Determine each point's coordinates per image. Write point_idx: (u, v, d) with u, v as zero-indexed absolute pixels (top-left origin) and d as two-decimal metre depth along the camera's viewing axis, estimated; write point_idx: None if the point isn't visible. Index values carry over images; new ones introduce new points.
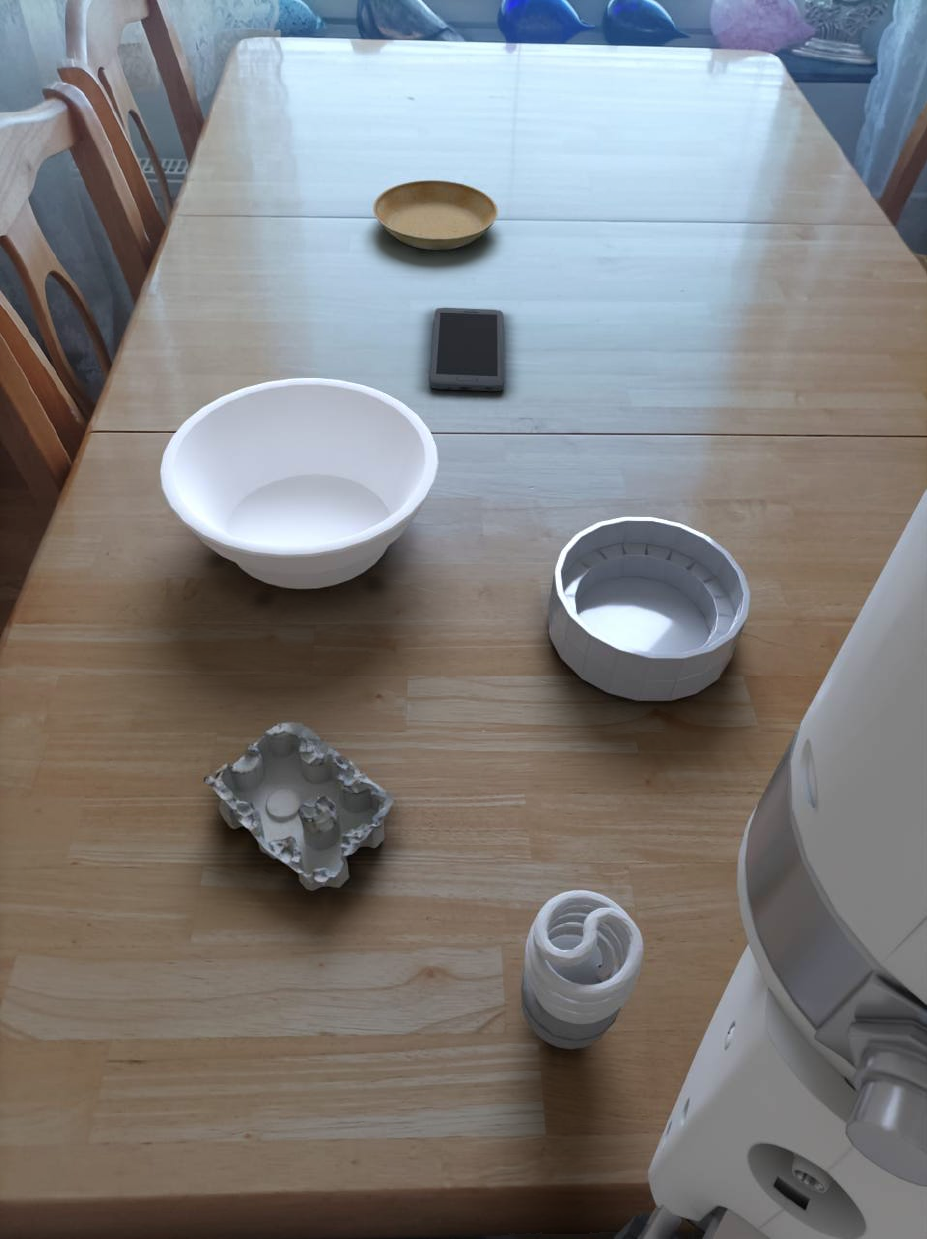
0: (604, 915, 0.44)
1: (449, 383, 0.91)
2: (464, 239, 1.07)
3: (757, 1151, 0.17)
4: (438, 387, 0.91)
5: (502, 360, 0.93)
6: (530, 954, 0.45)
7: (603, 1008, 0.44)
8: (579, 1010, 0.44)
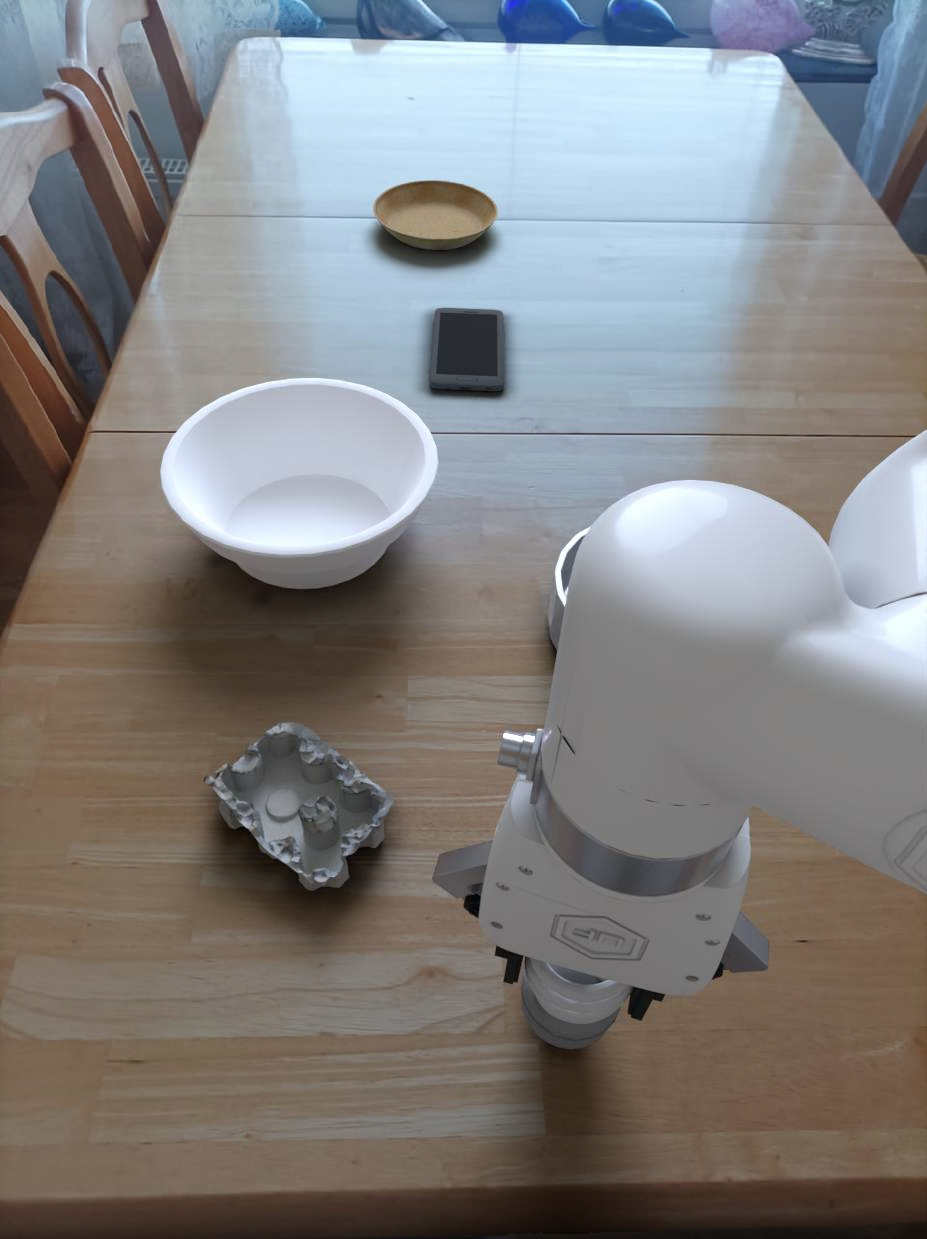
0: None
1: (449, 383, 0.91)
2: (464, 239, 1.07)
3: None
4: (438, 387, 0.91)
5: (502, 360, 0.93)
6: None
7: (602, 1008, 0.44)
8: (578, 1010, 0.44)
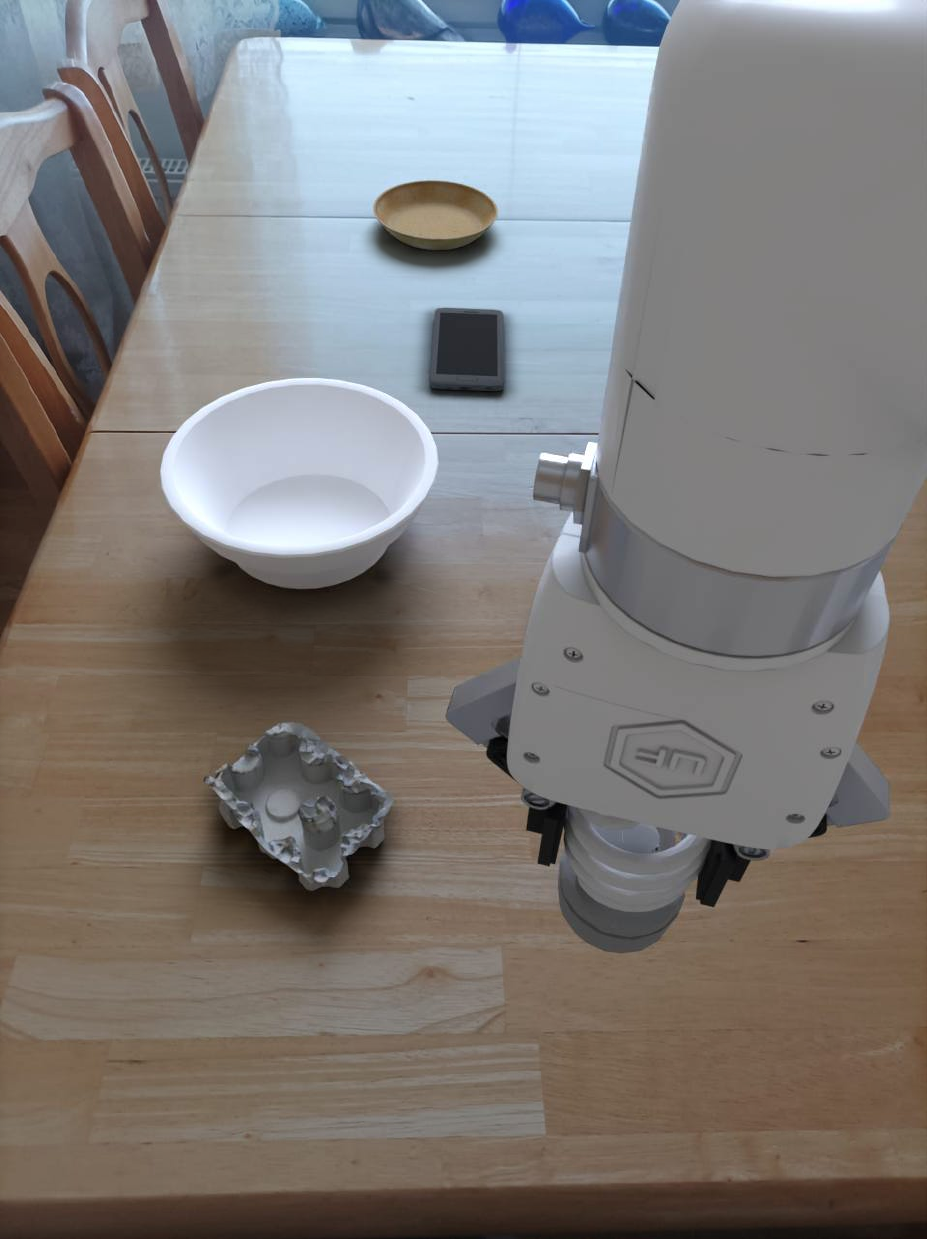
0: None
1: (449, 383, 0.91)
2: (464, 239, 1.07)
3: None
4: (438, 387, 0.91)
5: (502, 360, 0.93)
6: (571, 821, 0.35)
7: (667, 885, 0.34)
8: (636, 888, 0.34)
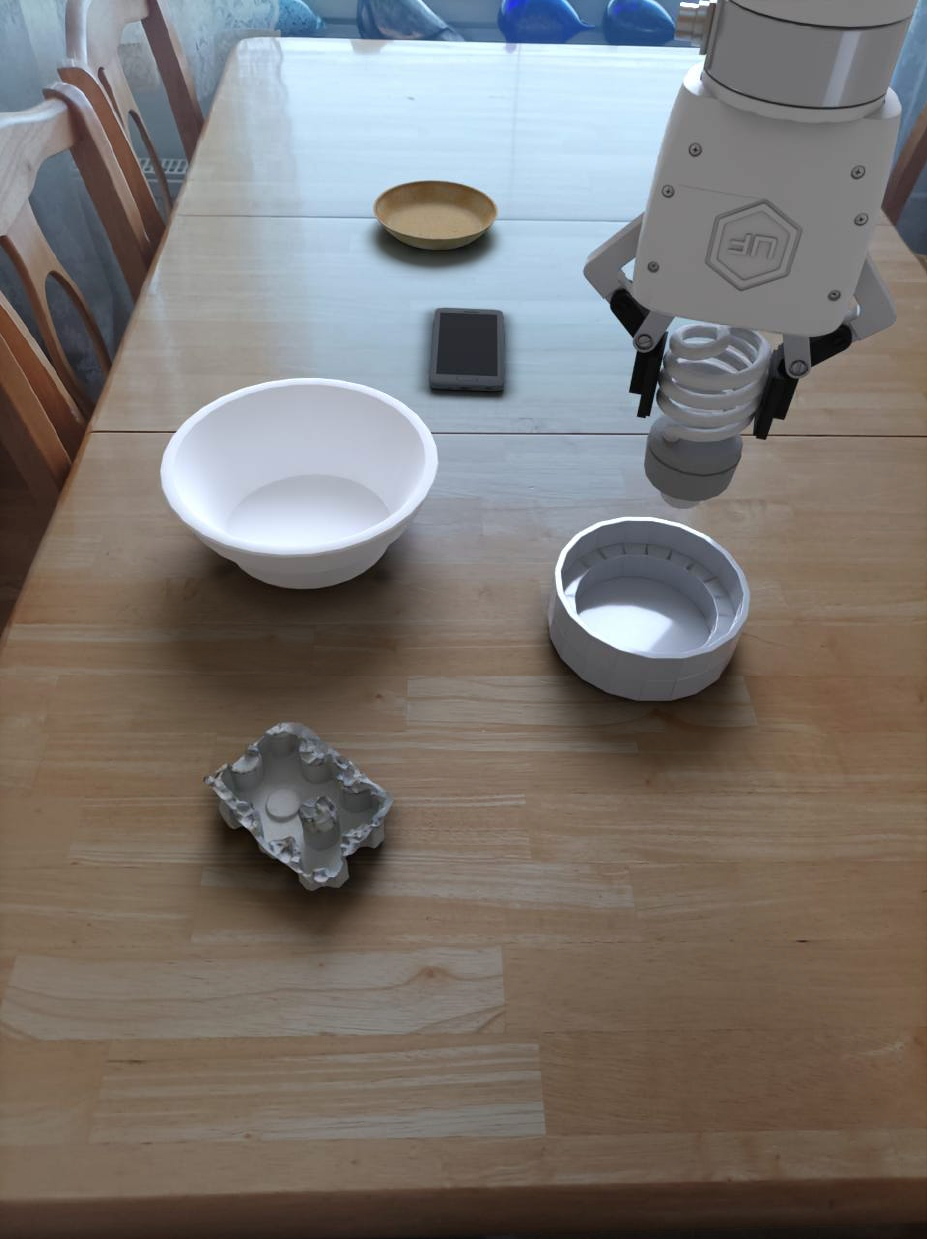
0: None
1: (449, 383, 0.91)
2: (464, 239, 1.07)
3: None
4: (438, 387, 0.91)
5: (502, 360, 0.93)
6: (666, 366, 0.49)
7: (736, 403, 0.48)
8: (714, 405, 0.48)
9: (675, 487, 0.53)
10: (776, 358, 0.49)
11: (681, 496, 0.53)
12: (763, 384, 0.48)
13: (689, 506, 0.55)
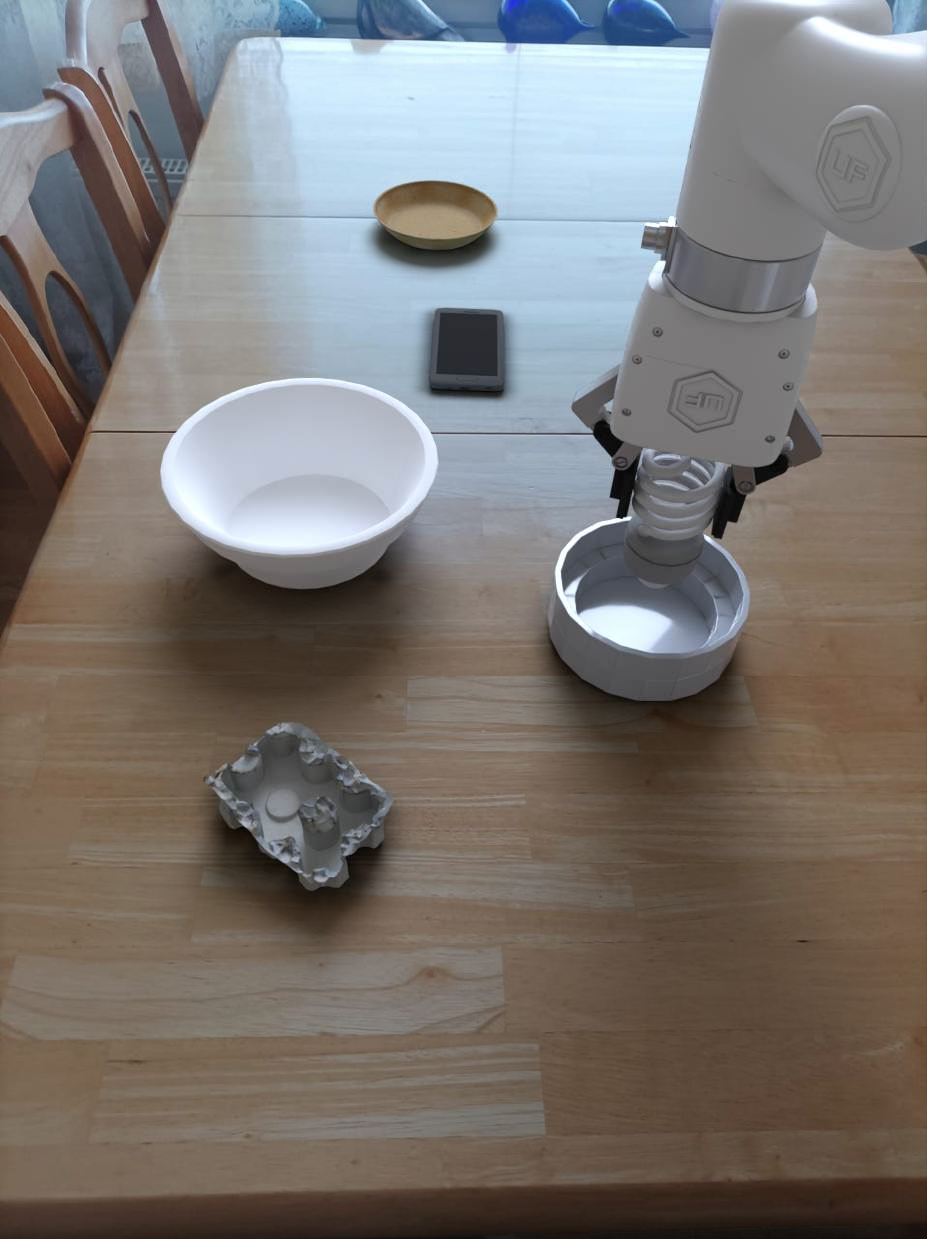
0: None
1: (449, 383, 0.91)
2: (464, 239, 1.07)
3: None
4: (438, 387, 0.91)
5: (502, 360, 0.93)
6: (639, 480, 0.60)
7: (696, 512, 0.59)
8: (678, 514, 0.59)
9: (648, 574, 0.64)
10: (729, 475, 0.59)
11: (653, 581, 0.64)
12: (718, 496, 0.59)
13: (661, 586, 0.66)
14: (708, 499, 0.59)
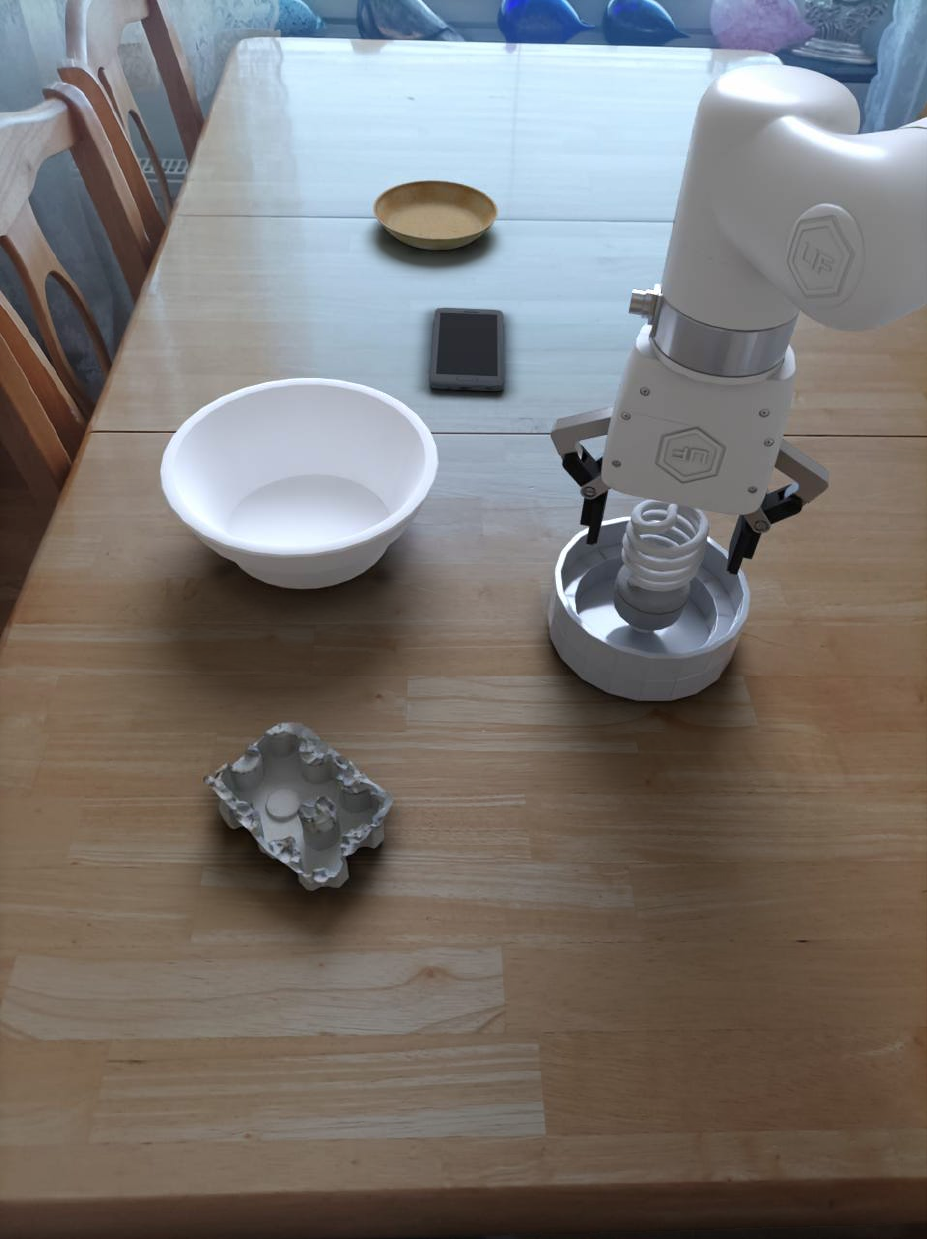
0: None
1: (449, 383, 0.91)
2: (464, 239, 1.07)
3: None
4: (438, 387, 0.91)
5: (502, 360, 0.93)
6: (628, 535, 0.63)
7: (681, 566, 0.62)
8: (664, 568, 0.62)
9: (637, 621, 0.67)
10: None
11: (641, 627, 0.68)
12: (702, 551, 0.63)
13: (649, 631, 0.70)
14: (693, 554, 0.63)
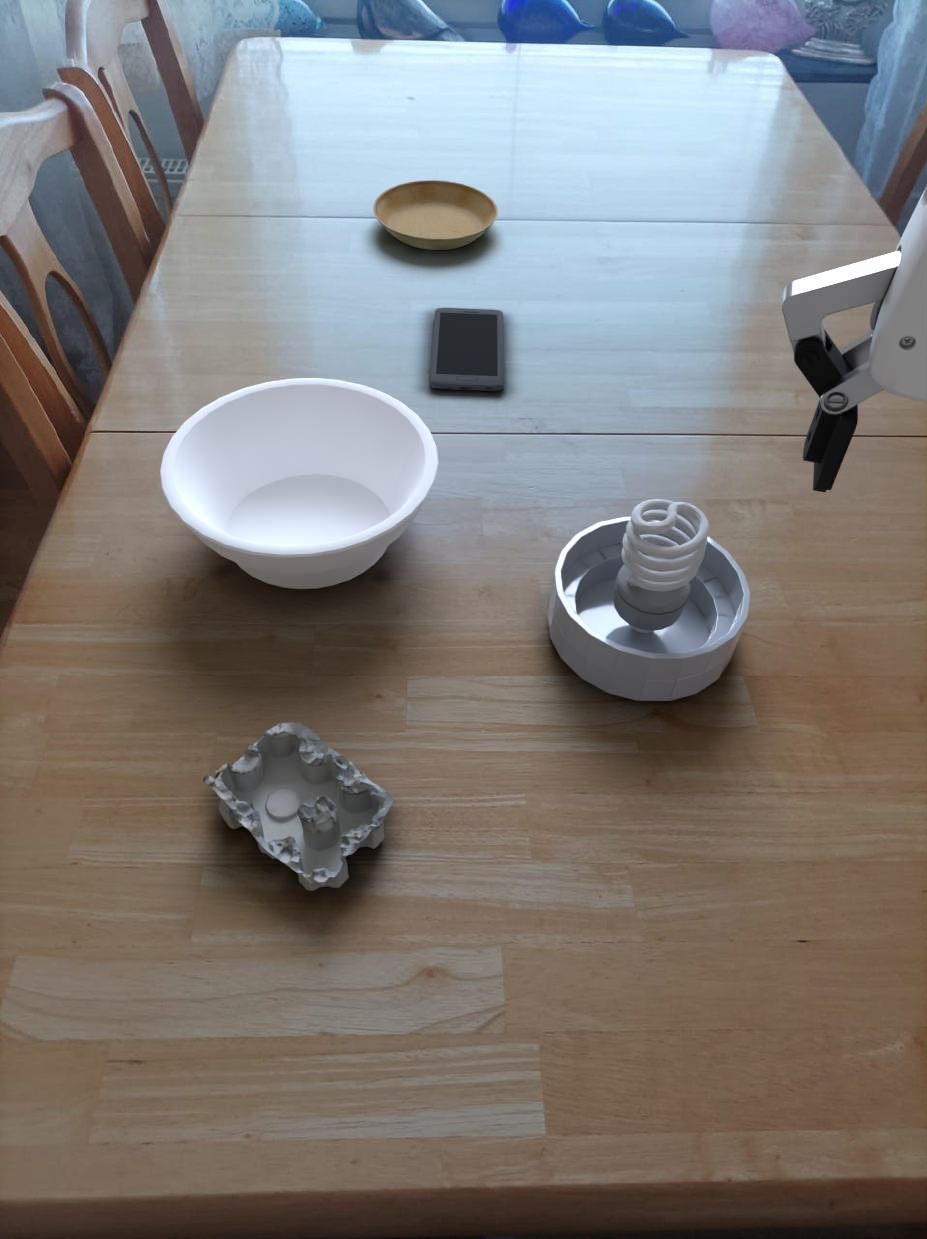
0: (681, 504, 0.63)
1: (449, 383, 0.91)
2: (464, 239, 1.07)
3: None
4: (438, 387, 0.91)
5: (502, 360, 0.93)
6: (628, 535, 0.63)
7: (681, 566, 0.62)
8: (664, 568, 0.62)
9: (637, 621, 0.67)
10: None
11: (641, 627, 0.68)
12: (702, 551, 0.63)
13: (649, 631, 0.70)
14: (693, 554, 0.63)
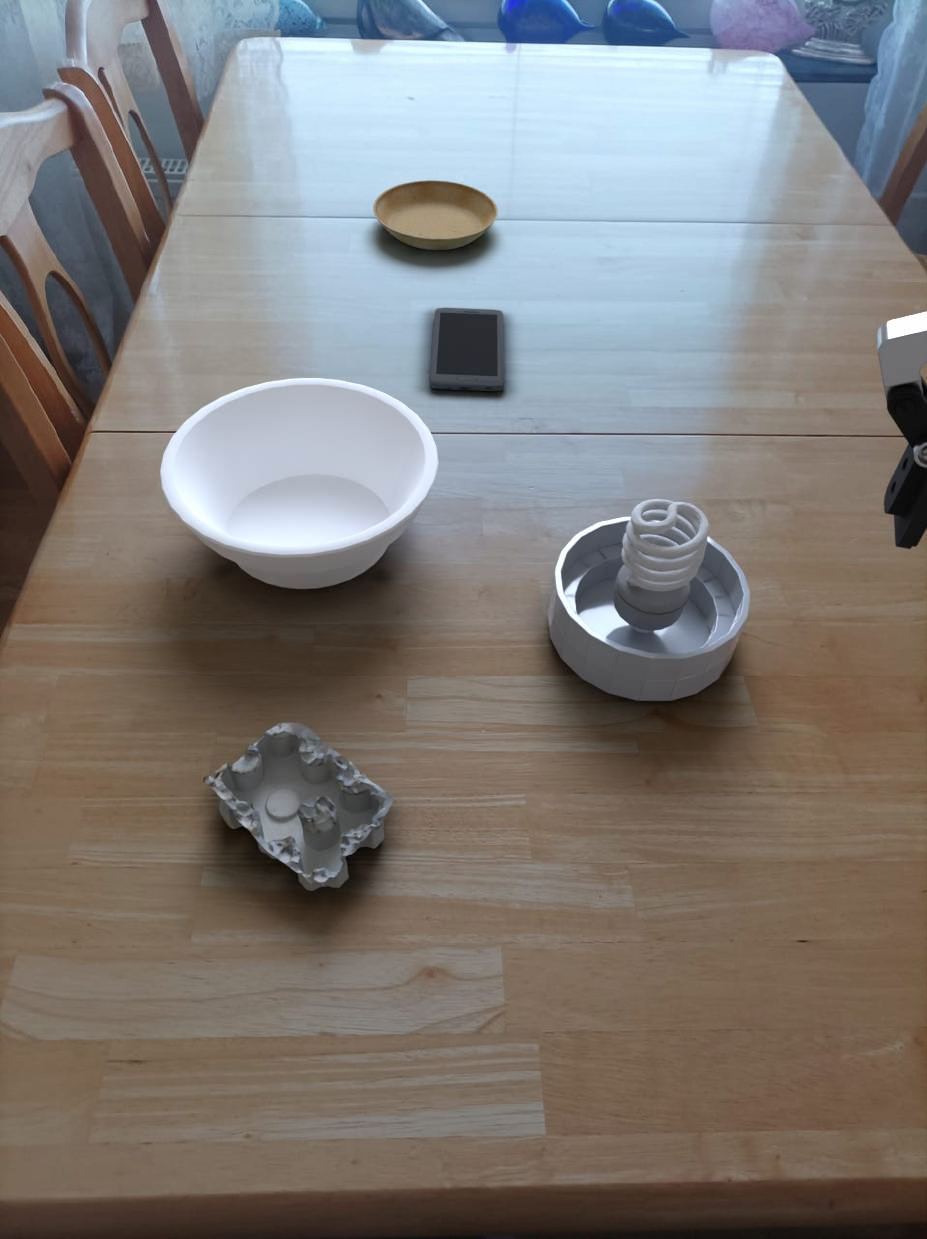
0: (681, 504, 0.63)
1: (449, 383, 0.91)
2: (464, 239, 1.07)
3: None
4: (438, 387, 0.91)
5: (502, 360, 0.93)
6: (628, 535, 0.63)
7: (681, 566, 0.62)
8: (664, 568, 0.62)
9: (637, 621, 0.67)
10: None
11: (641, 627, 0.68)
12: (702, 551, 0.63)
13: (649, 631, 0.70)
14: (693, 554, 0.63)
